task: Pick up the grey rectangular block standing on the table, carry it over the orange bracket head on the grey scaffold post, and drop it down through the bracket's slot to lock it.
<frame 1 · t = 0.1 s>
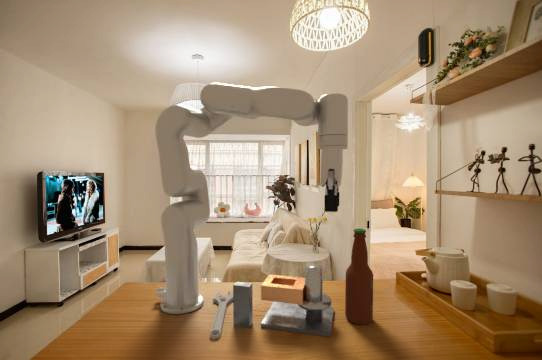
hand: (332, 208, 78), 31 cm above the table, tool pointing down, fingers open, 9 cm apart
adjustable wrench: (218, 315, 86), on the table
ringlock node: (313, 320, 82), on the table
bottle: (358, 319, 82), on the table
grey rectangular block: (243, 324, 80), on the table
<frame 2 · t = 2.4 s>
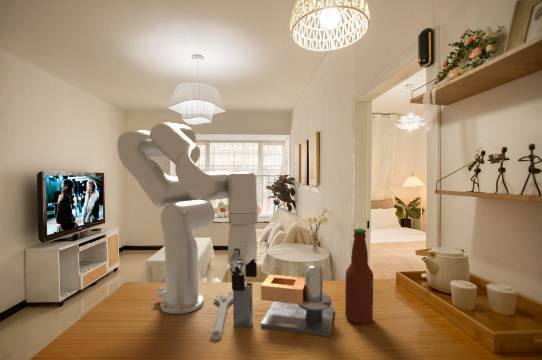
hand: (245, 283, 79), 11 cm above the table, tool pointing down, fingers open, 9 cm apart
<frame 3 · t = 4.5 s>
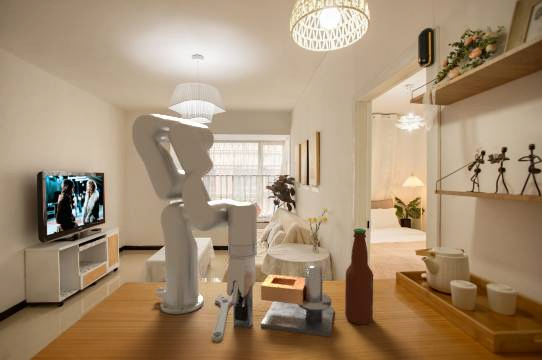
hand: (243, 316, 79), 2 cm above the table, tool pointing down, fingers closed on grey rectangular block, 2 cm apart
grey rectangular block: (243, 324, 80), on the table, touching gripper
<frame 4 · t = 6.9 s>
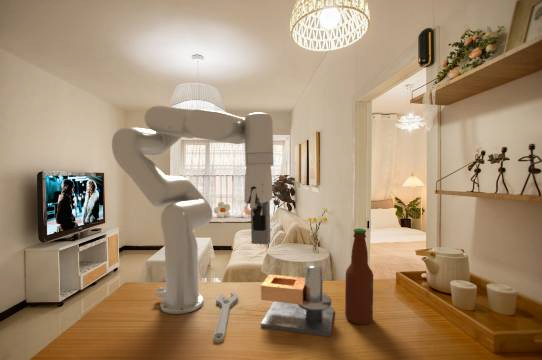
hand: (261, 228, 80), 26 cm above the table, tool pointing down, fingers closed on grey rectangular block
grey rectangular block: (261, 242, 80), point 22 cm above the table, touching gripper
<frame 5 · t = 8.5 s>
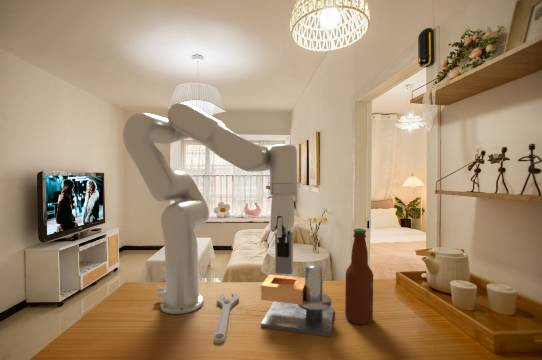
hand: (284, 254, 83), 18 cm above the table, tool pointing down, fingers closed on grey rectangular block, 2 cm apart
grey rectangular block: (284, 272, 83), point 13 cm above the table, touching gripper
when the fingers open (14 cm above the table, at t = 9.7 s): grey rectangular block drops 7 cm, resting on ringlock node.
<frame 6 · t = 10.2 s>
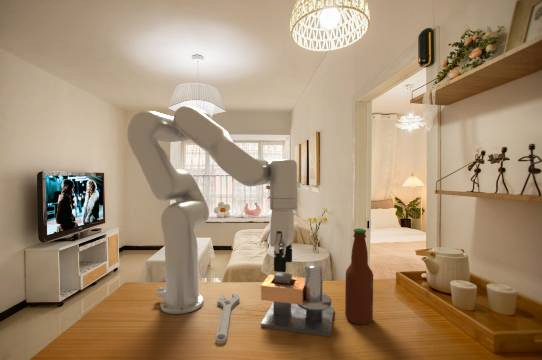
hand: (283, 266, 83), 14 cm above the table, tool pointing down, fingers open, 7 cm apart
grey rectangular block: (282, 313, 84), point 1 cm above the table, touching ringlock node
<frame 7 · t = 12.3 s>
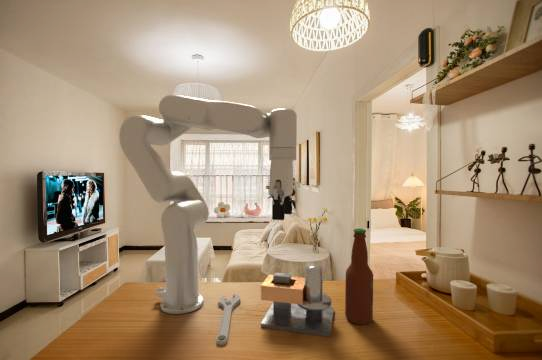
hand: (282, 216, 83), 28 cm above the table, tool pointing down, fingers open, 9 cm apart
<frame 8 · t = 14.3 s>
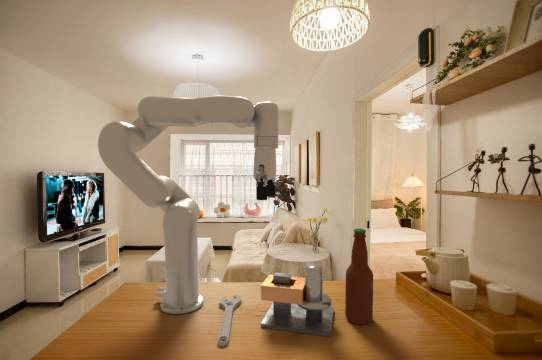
hand: (266, 198, 93), 32 cm above the table, tool pointing down, fingers open, 9 cm apart
at the end: grey rectangular block 0.4 cm from the target spot on the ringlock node, point 1.0 cm above the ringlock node's base; grey rectangular block tilted 0°; the gripper is holding nothing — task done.
